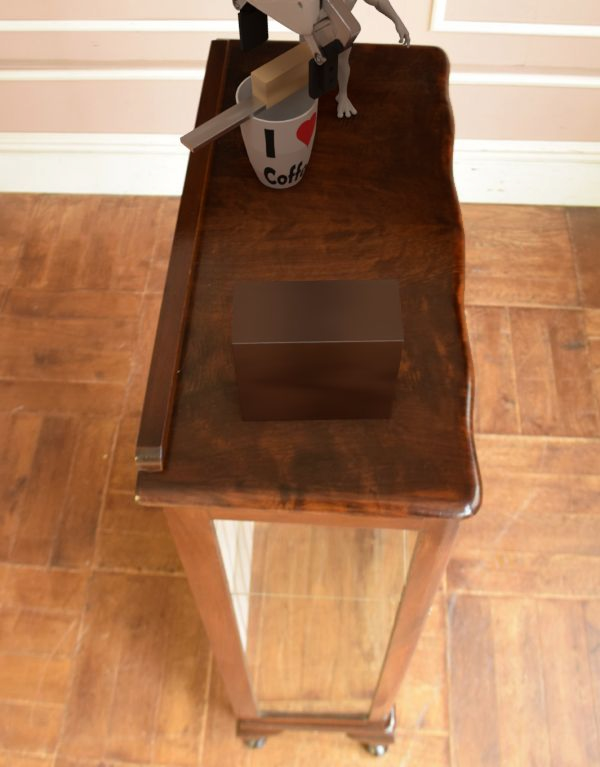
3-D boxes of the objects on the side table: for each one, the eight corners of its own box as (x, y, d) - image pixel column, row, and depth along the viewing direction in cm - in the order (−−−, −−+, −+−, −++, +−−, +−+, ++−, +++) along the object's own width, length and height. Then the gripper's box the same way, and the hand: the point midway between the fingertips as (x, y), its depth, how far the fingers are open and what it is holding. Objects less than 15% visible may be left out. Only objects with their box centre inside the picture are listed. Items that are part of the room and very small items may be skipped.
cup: (258, 207, 82) (252, 131, 73) (232, 157, 86) (224, 80, 77) (328, 186, 83) (331, 109, 75) (300, 138, 87) (299, 60, 79)
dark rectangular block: (385, 361, 71) (398, 278, 61) (390, 418, 68) (404, 340, 58) (244, 364, 71) (233, 281, 61) (242, 421, 68) (231, 344, 58)
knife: (304, 67, 78) (304, 40, 76) (319, 77, 77) (320, 51, 75) (179, 142, 73) (175, 116, 70) (194, 154, 72) (190, 128, 69)
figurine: (245, 125, 89) (232, -29, 73) (249, 87, 92) (238, -68, 77) (402, 129, 88) (422, -26, 73) (400, 90, 92) (419, -65, 76)
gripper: (397, -100, 58) (379, 93, 73) (247, -178, 65) (258, 13, 79) (325, -62, 55) (321, 130, 70) (176, -148, 62) (201, 44, 77)
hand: (288, 67), depth 75 cm, fingers open, 9 cm apart
